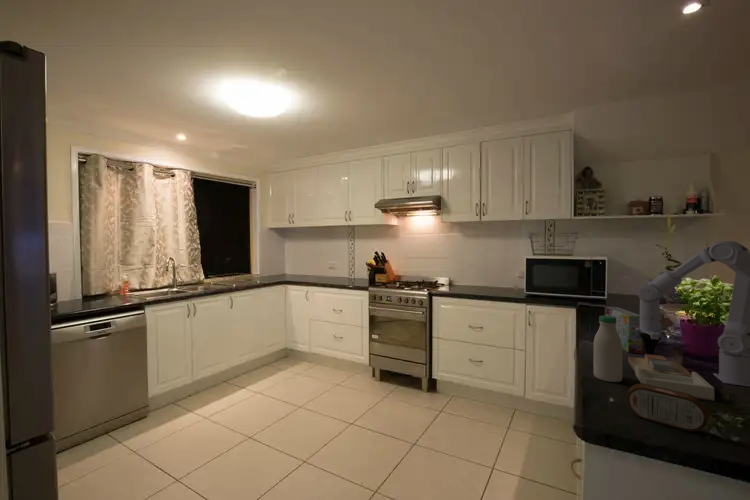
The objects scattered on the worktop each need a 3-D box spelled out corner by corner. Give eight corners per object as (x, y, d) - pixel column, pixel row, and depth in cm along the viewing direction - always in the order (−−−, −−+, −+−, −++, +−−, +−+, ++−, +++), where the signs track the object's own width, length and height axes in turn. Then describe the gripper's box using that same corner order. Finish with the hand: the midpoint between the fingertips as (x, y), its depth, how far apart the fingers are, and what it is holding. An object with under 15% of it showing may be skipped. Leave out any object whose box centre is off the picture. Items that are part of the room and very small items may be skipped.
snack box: (644, 354, 132) (644, 316, 131) (627, 353, 133) (627, 315, 133) (618, 339, 152) (618, 306, 152) (604, 338, 154) (604, 306, 153)
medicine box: (650, 340, 150) (650, 321, 150) (662, 343, 146) (662, 323, 146) (641, 343, 146) (641, 323, 146) (654, 345, 142) (654, 325, 142)
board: (677, 367, 117) (677, 362, 117) (693, 382, 104) (693, 376, 104) (628, 361, 123) (628, 356, 123) (637, 375, 111) (637, 369, 111)
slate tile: (668, 367, 112) (668, 361, 112) (673, 372, 108) (673, 366, 108) (649, 364, 114) (649, 359, 114) (653, 369, 110) (653, 363, 110)
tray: (695, 383, 104) (695, 372, 104) (714, 400, 92) (714, 388, 92) (635, 375, 111) (635, 364, 111) (645, 390, 99) (645, 378, 99)
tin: (708, 433, 77) (708, 396, 77) (709, 438, 75) (709, 401, 74) (627, 410, 87) (627, 378, 87) (625, 415, 85) (625, 382, 85)
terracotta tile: (662, 361, 117) (662, 356, 117) (667, 366, 113) (667, 360, 113) (644, 359, 120) (644, 353, 120) (648, 363, 115) (648, 358, 115)
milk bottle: (627, 383, 104) (627, 319, 104) (599, 381, 106) (599, 318, 105) (615, 374, 112) (615, 314, 111) (589, 372, 113) (589, 313, 113)
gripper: (631, 312, 131) (631, 347, 132) (640, 320, 119) (640, 358, 119) (654, 314, 128) (654, 349, 128) (666, 322, 115) (666, 361, 115)
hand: (649, 354), depth 123 cm, fingers closed
